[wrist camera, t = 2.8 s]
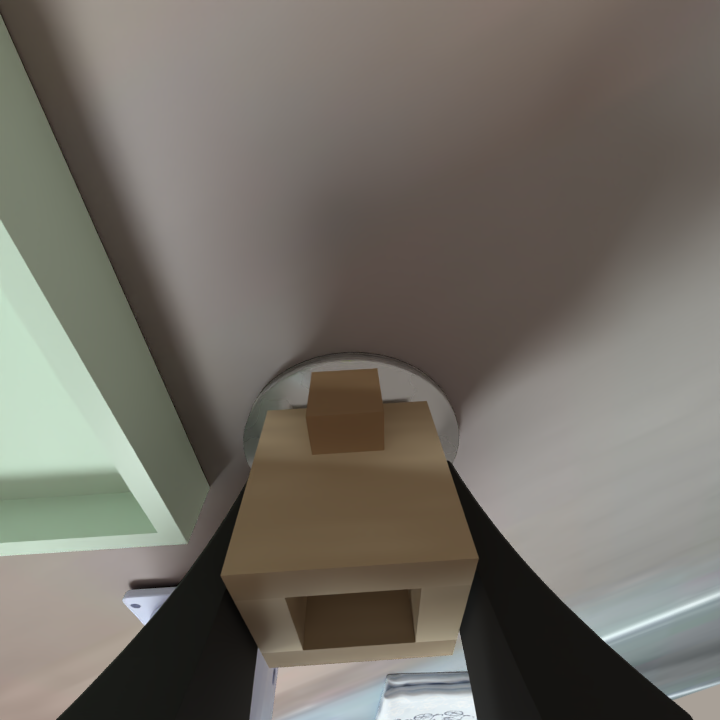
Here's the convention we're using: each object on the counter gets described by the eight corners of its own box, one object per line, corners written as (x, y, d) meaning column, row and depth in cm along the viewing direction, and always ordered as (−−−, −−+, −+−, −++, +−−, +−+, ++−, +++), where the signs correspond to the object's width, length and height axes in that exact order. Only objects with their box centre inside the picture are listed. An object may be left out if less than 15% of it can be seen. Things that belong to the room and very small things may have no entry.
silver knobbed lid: (444, 497, 15) (471, 590, 12) (269, 508, 15) (249, 605, 12) (467, 345, 11) (517, 427, 8) (222, 359, 11) (173, 447, 8)
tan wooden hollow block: (418, 499, 14) (452, 655, 10) (291, 508, 14) (269, 667, 10) (429, 365, 10) (490, 516, 6) (259, 375, 10) (199, 536, 6)
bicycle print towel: (382, 665, 28) (385, 701, 26) (610, 658, 30) (628, 691, 28) (367, 726, 38) (368, 755, 37) (537, 718, 40) (547, 745, 38)
